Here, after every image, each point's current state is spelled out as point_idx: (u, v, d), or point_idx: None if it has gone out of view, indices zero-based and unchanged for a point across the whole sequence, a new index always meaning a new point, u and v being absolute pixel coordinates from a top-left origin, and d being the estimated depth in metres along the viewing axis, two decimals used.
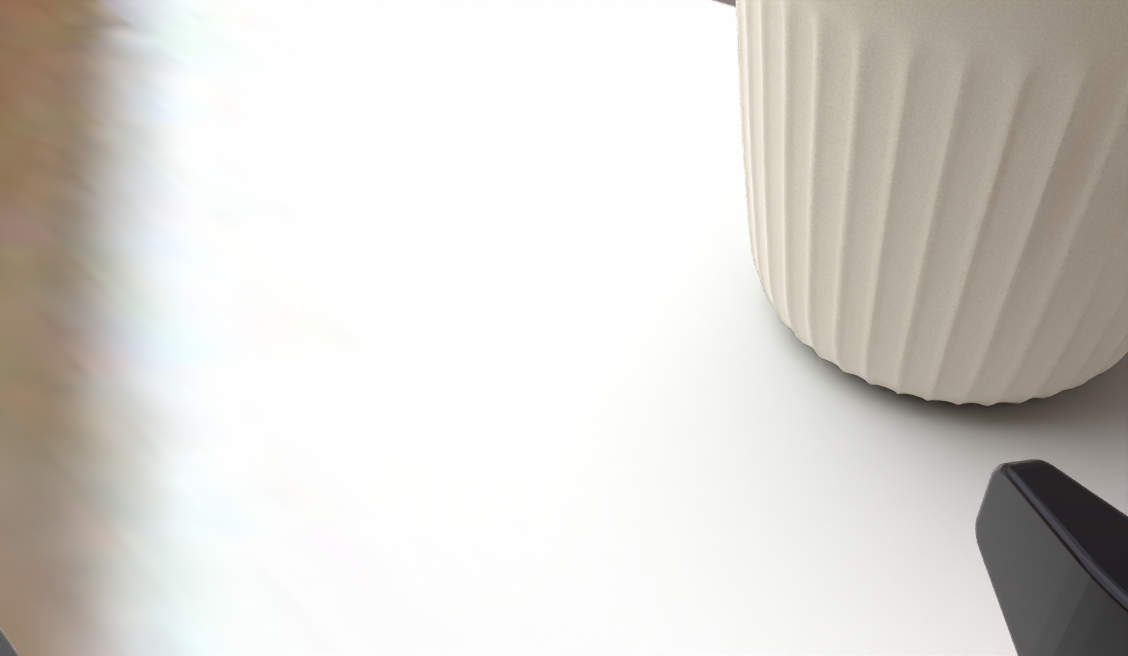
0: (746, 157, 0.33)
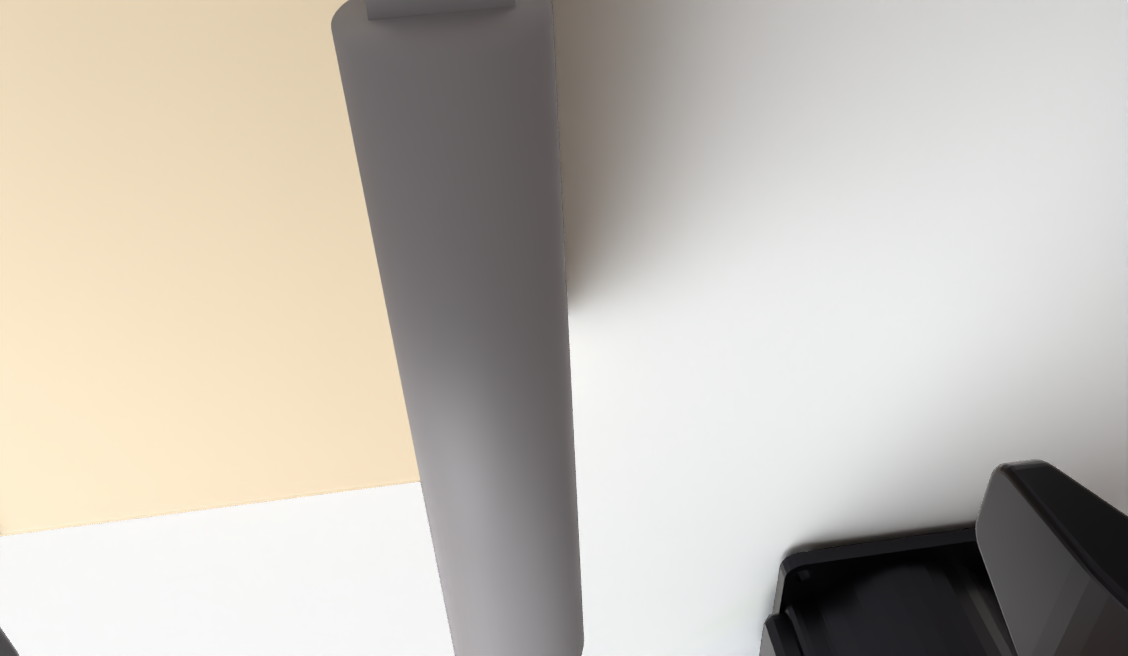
0: None
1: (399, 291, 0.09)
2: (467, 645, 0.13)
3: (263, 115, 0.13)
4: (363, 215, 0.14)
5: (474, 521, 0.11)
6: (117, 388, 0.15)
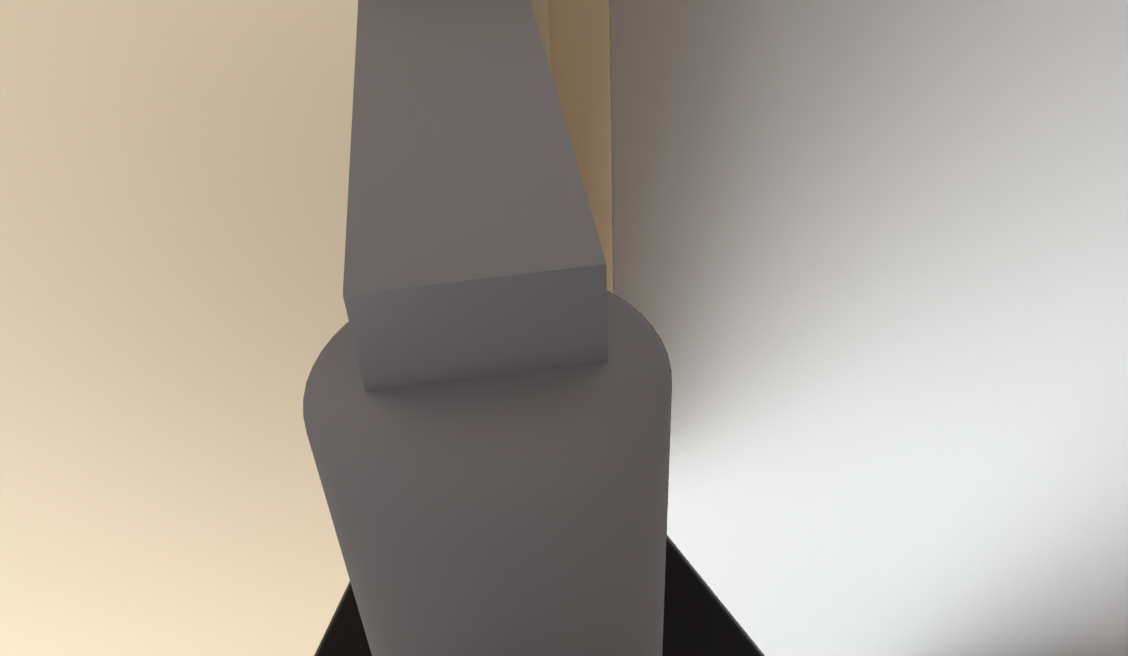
0: None
1: None
2: None
3: (227, 341, 0.09)
4: None
5: None
6: (49, 643, 0.12)
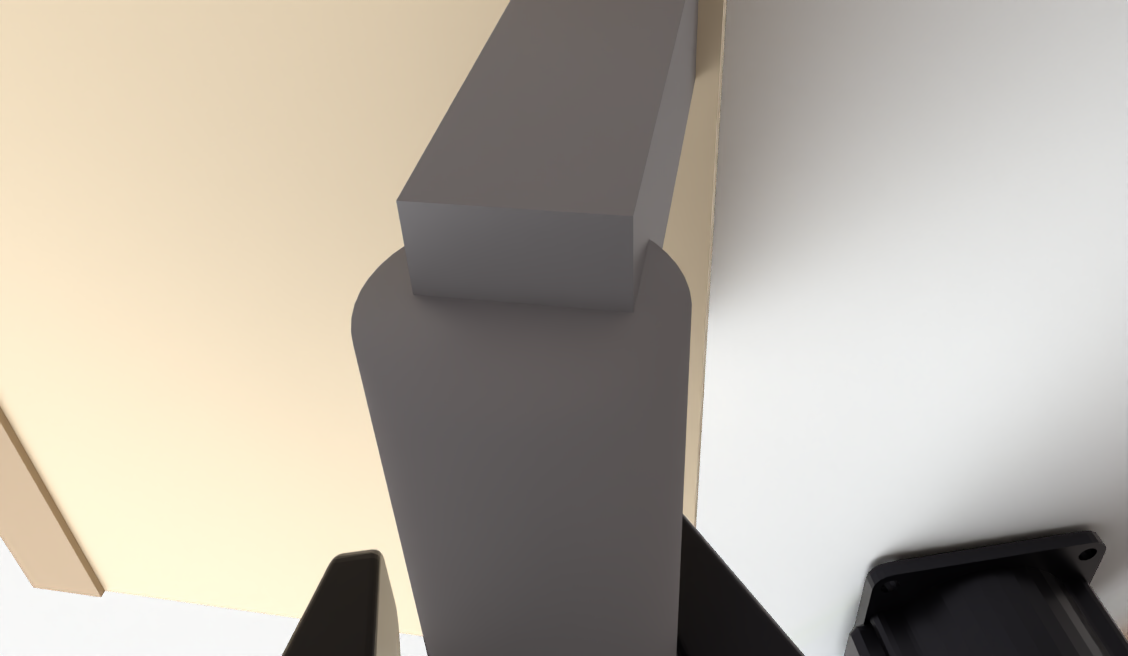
0: None
1: (425, 630, 0.07)
2: None
3: None
4: None
5: None
6: (223, 489, 0.14)
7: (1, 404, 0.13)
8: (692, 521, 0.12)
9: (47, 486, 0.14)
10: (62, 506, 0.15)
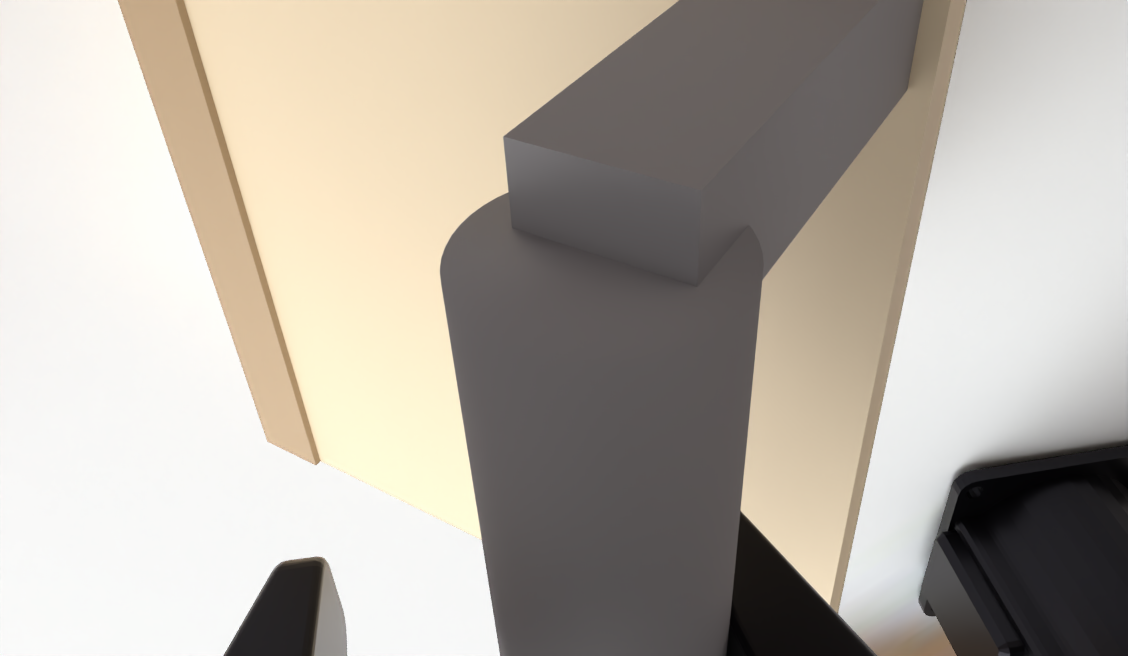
0: None
1: (482, 541, 0.07)
2: None
3: None
4: None
5: None
6: (423, 396, 0.15)
7: (267, 275, 0.15)
8: (839, 546, 0.12)
9: (290, 356, 0.16)
10: (300, 376, 0.17)
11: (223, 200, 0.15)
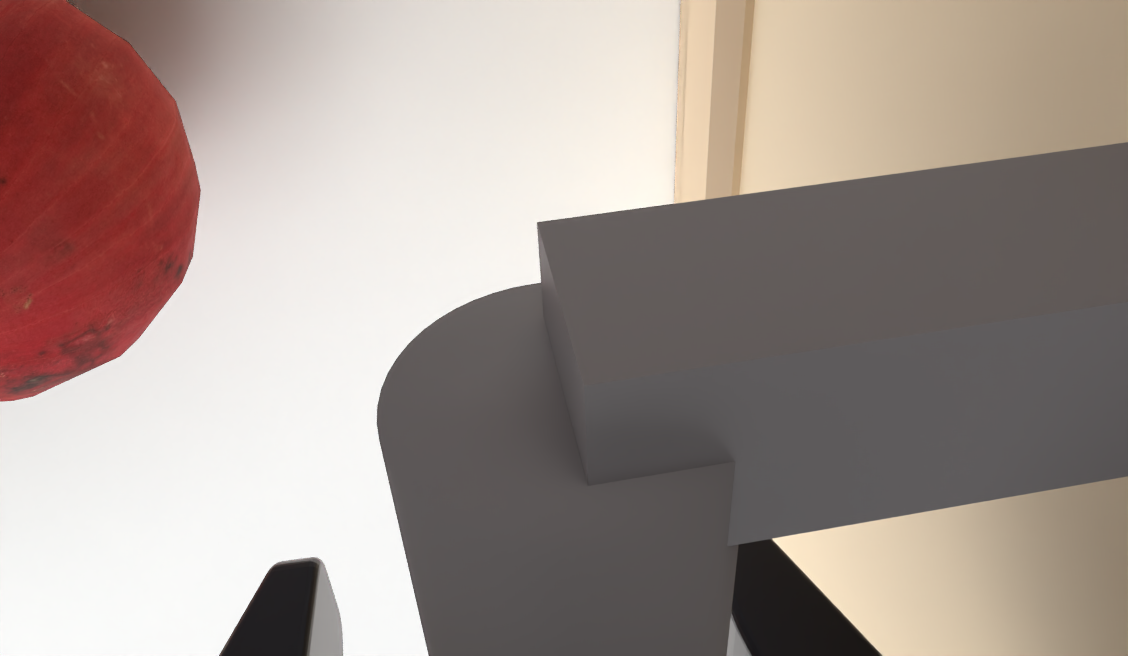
0: None
1: None
2: None
3: None
4: (978, 568, 0.09)
5: None
6: None
7: None
8: None
9: None
10: None
11: (726, 168, 0.15)
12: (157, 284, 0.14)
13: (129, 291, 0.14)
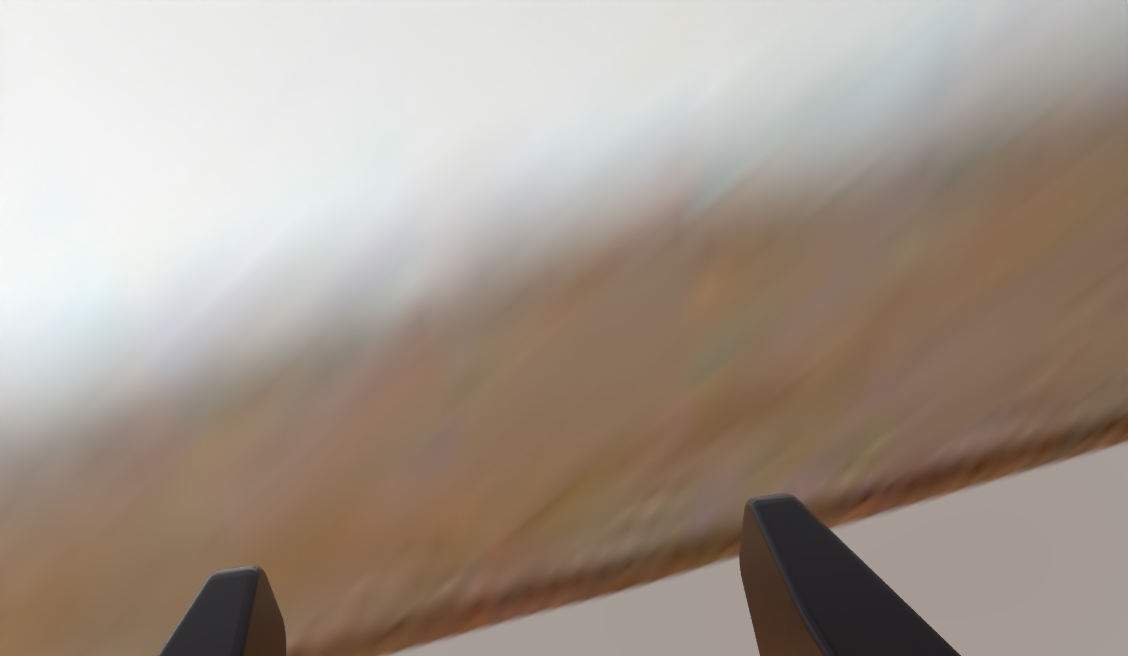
0: None
1: None
2: None
3: None
4: None
5: None
6: None
7: None
8: None
9: None
10: None
11: None
12: None
13: None
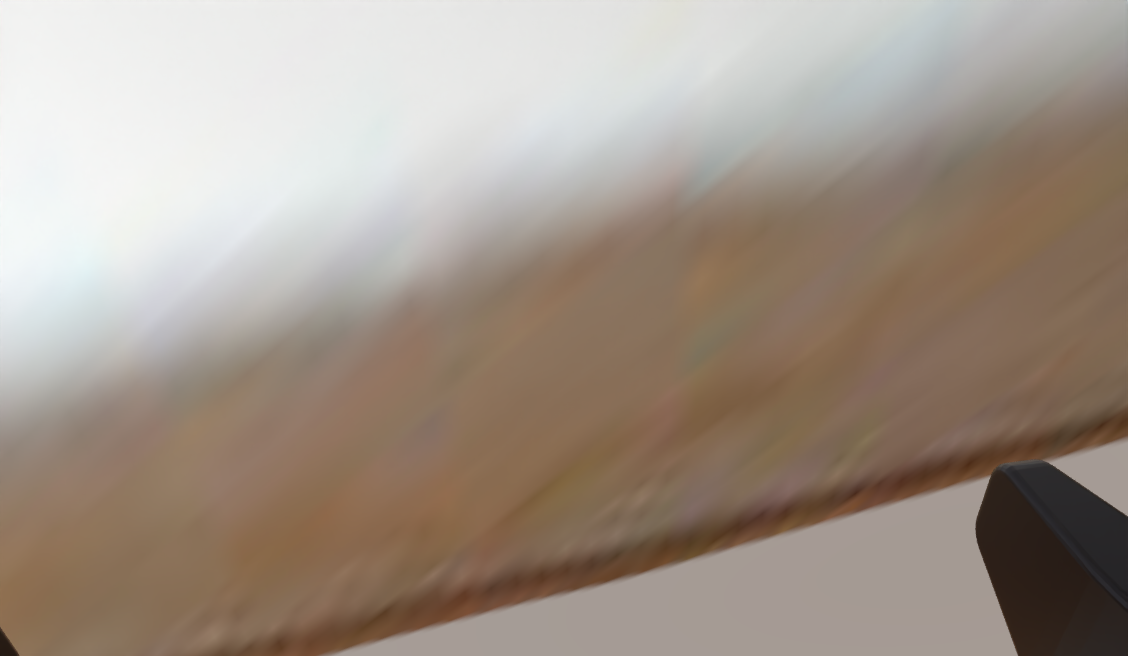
0: None
1: None
2: None
3: None
4: None
5: None
6: None
7: None
8: None
9: None
10: None
11: None
12: None
13: None
